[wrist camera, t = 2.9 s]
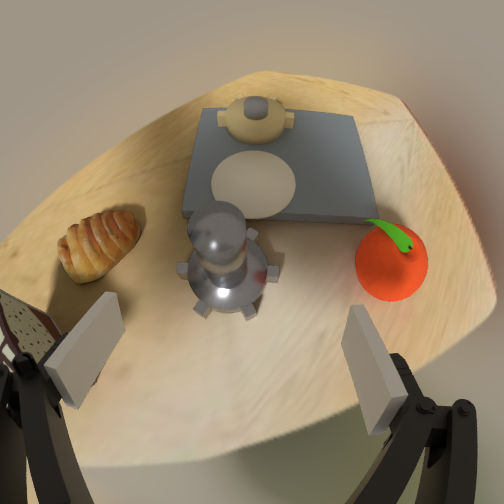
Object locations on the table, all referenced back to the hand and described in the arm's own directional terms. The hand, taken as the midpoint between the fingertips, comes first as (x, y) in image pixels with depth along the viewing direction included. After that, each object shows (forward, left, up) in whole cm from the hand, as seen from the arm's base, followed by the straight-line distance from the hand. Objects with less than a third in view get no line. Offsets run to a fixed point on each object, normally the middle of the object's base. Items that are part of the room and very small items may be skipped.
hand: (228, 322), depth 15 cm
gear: (-1, +6, -10) cm, 12 cm away
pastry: (-16, +8, -10) cm, 21 cm away
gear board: (+4, +20, -10) cm, 22 cm away
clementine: (+13, +7, -10) cm, 18 cm away
